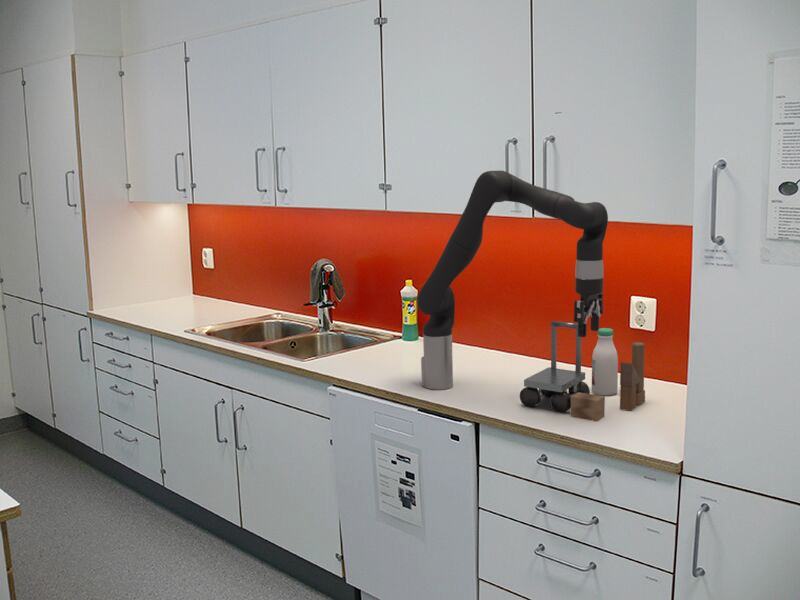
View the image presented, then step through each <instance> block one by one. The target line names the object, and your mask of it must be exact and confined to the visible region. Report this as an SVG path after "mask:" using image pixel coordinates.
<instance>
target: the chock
mask: <svg viewBox="0 0 800 600" xmlns="http://www.w3.org/2000/svg"><path fill="white" fill-rule="evenodd" d="M605 398H606V397H605V396H604V395H597V394H594V393H590V394H587V393H580V392H578V393H576V394H574V395H573V396H571V409H570V418H576V419H583V420H587V421H592V420H593V422H599V421H600V420H601V419H603V418H604V417H605V411H606V410H605V408H606V407H605V406H606V405H605V404H606V403H605V402H606V399H605Z"/></svg>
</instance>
